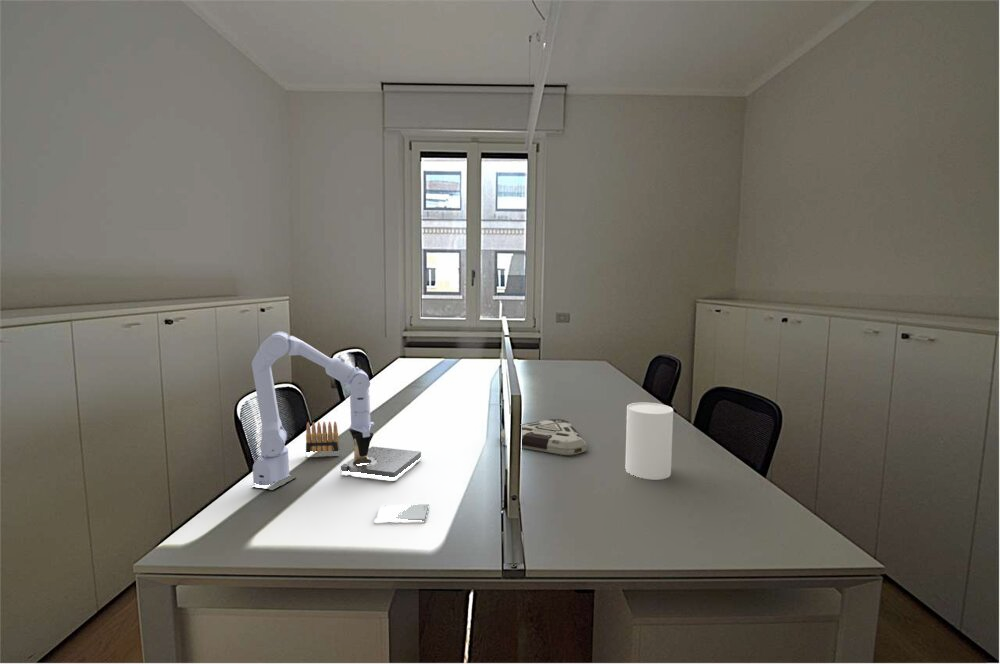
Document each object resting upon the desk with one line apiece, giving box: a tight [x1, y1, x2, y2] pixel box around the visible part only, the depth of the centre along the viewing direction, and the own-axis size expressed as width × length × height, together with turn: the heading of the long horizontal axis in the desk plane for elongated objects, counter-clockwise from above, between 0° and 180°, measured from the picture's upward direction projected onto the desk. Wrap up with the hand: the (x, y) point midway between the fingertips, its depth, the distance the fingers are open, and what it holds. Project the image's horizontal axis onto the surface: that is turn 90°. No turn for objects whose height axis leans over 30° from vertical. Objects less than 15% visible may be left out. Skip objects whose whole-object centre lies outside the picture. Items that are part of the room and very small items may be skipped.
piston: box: [353, 438, 368, 463], centre depth 150 cm, size 4×4×7 cm
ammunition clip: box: [305, 421, 340, 453], centre depth 163 cm, size 11×2×12 cm, turn 95°
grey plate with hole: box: [340, 446, 422, 477], centre depth 154 cm, size 18×18×3 cm
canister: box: [624, 401, 674, 481], centre depth 150 cm, size 14×14×20 cm
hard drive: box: [396, 503, 430, 522], centre depth 123 cm, size 2×8×12 cm
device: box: [500, 418, 587, 457], centre depth 181 cm, size 33×27×5 cm
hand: (361, 453), depth 150 cm, fingers closed on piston, 4 cm apart
